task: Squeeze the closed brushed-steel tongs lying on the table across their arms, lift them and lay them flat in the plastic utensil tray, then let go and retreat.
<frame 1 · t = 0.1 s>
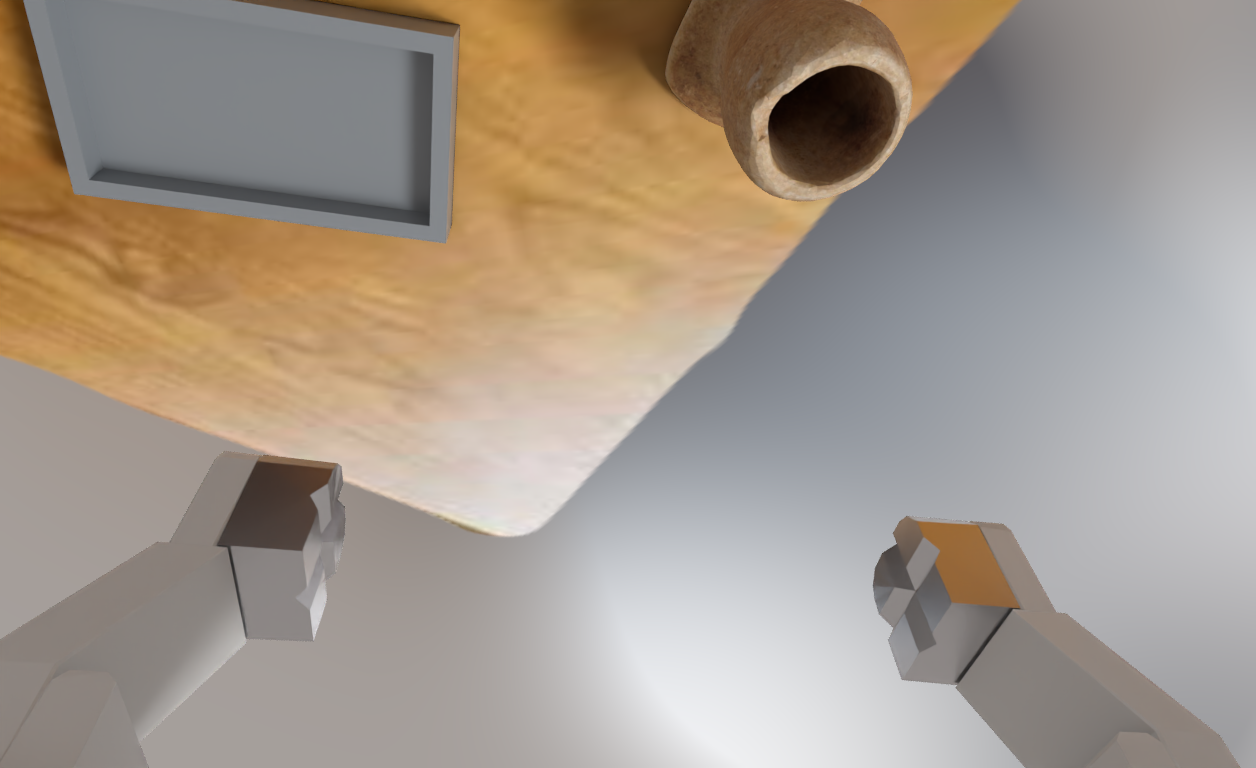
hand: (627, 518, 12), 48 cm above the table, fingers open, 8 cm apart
utensil tray: (269, 104, 55), on the table
stone cup: (776, 16, 53), on the table
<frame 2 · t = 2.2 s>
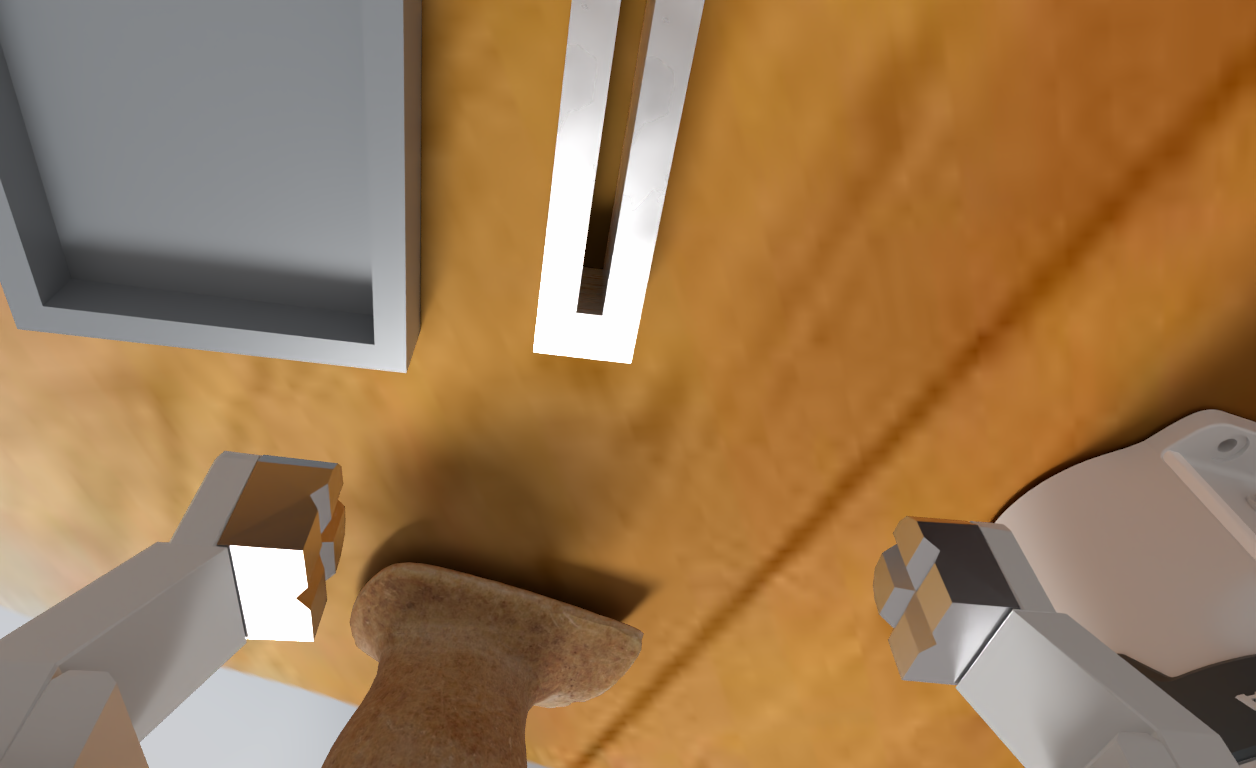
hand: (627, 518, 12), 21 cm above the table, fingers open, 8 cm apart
steel tongs: (619, 81, 28), on the table
stone cup: (485, 621, 47), on the table
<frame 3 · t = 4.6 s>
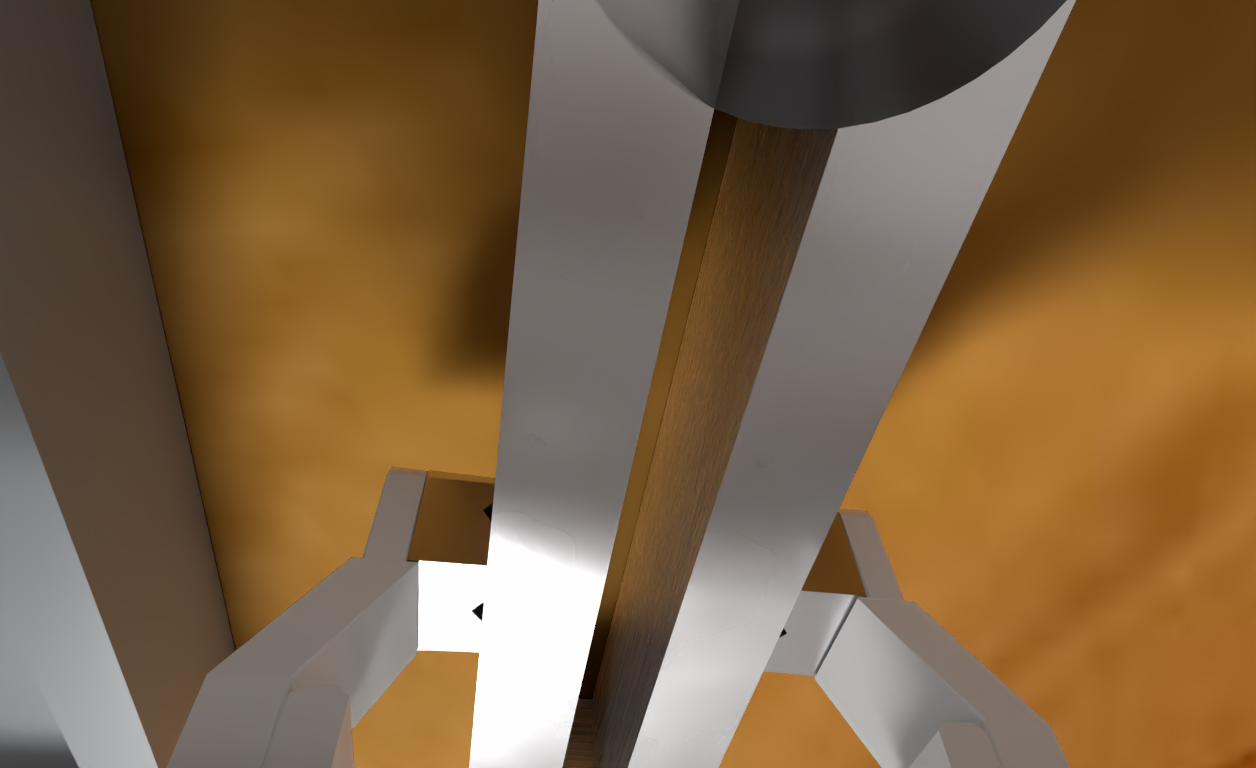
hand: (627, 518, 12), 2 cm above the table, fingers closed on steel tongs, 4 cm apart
steel tongs: (625, 442, 13), on the table, touching gripper
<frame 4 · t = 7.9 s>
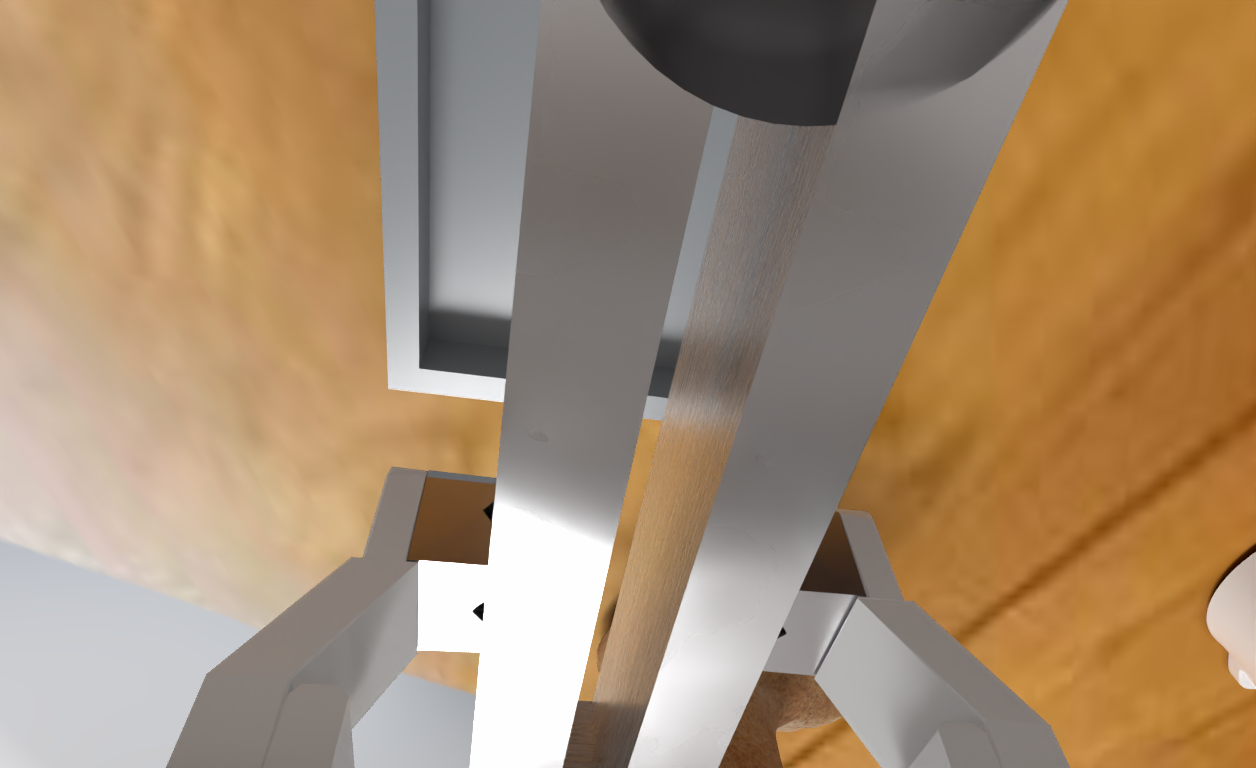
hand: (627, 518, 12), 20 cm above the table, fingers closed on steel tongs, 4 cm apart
utensil tray: (616, 69, 27), on the table
steel tongs: (625, 443, 13), point 18 cm above the table, touching gripper
stone cup: (715, 648, 49), on the table
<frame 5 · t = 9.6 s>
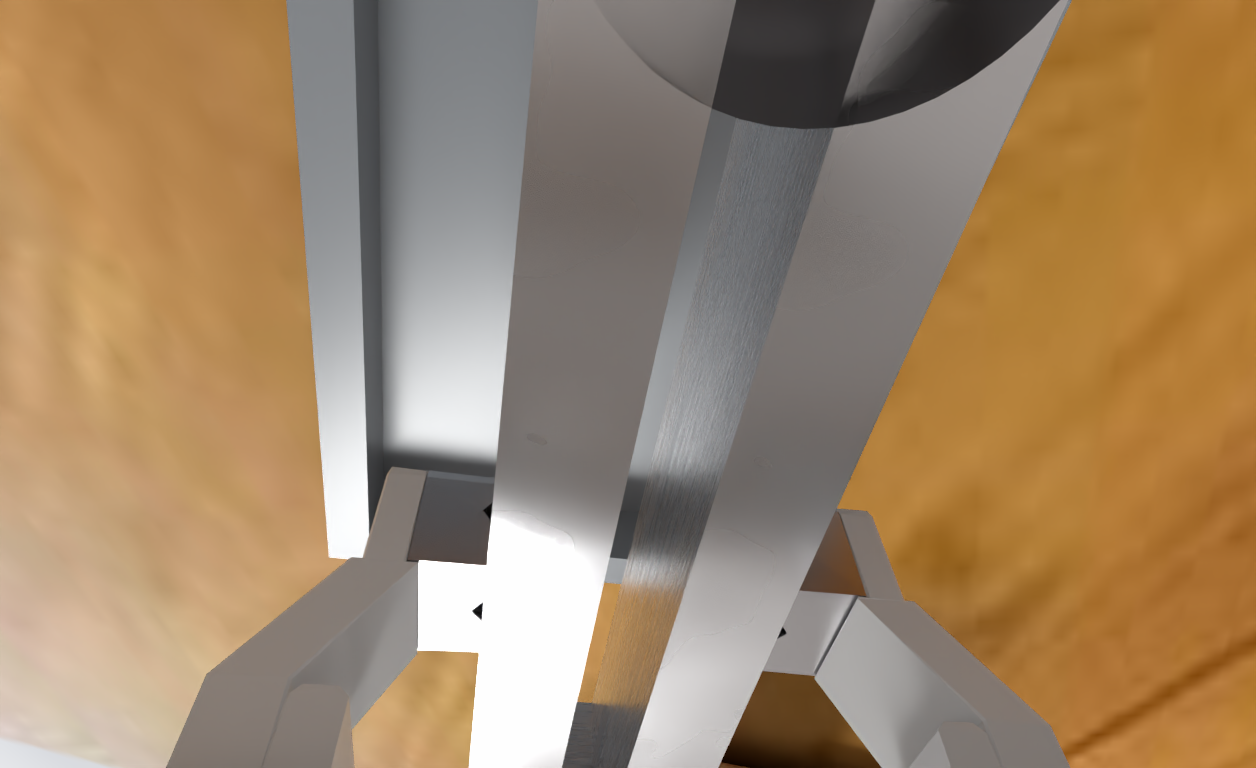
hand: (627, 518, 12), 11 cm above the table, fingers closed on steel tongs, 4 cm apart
utensil tray: (635, 159, 20), on the table
steel tongs: (624, 444, 13), point 9 cm above the table, touching gripper
when the fingers open (4 cm above the table, at t = 11.3 s): steel tongs stays where it is, resting on utensil tray.
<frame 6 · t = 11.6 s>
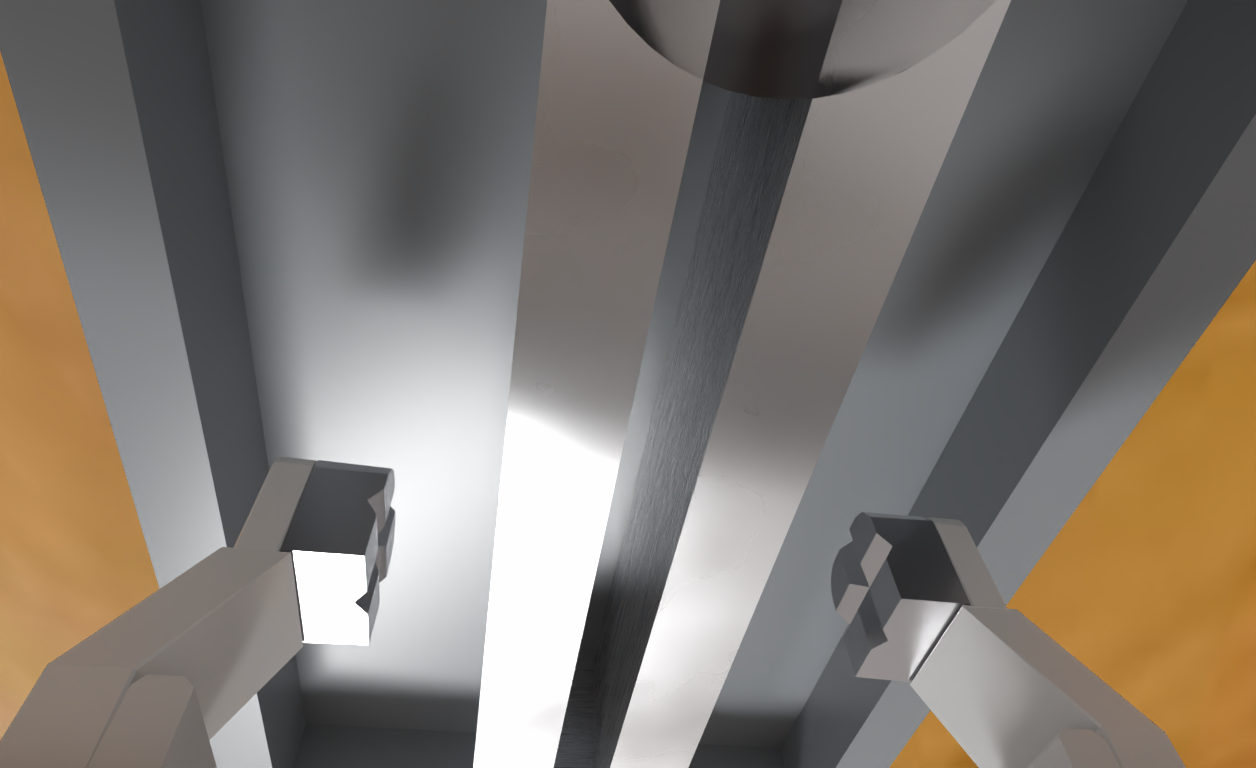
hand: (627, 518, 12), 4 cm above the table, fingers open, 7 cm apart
utensil tray: (623, 347, 14), on the table
steel tongs: (624, 408, 14), point 1 cm above the table, touching utensil tray
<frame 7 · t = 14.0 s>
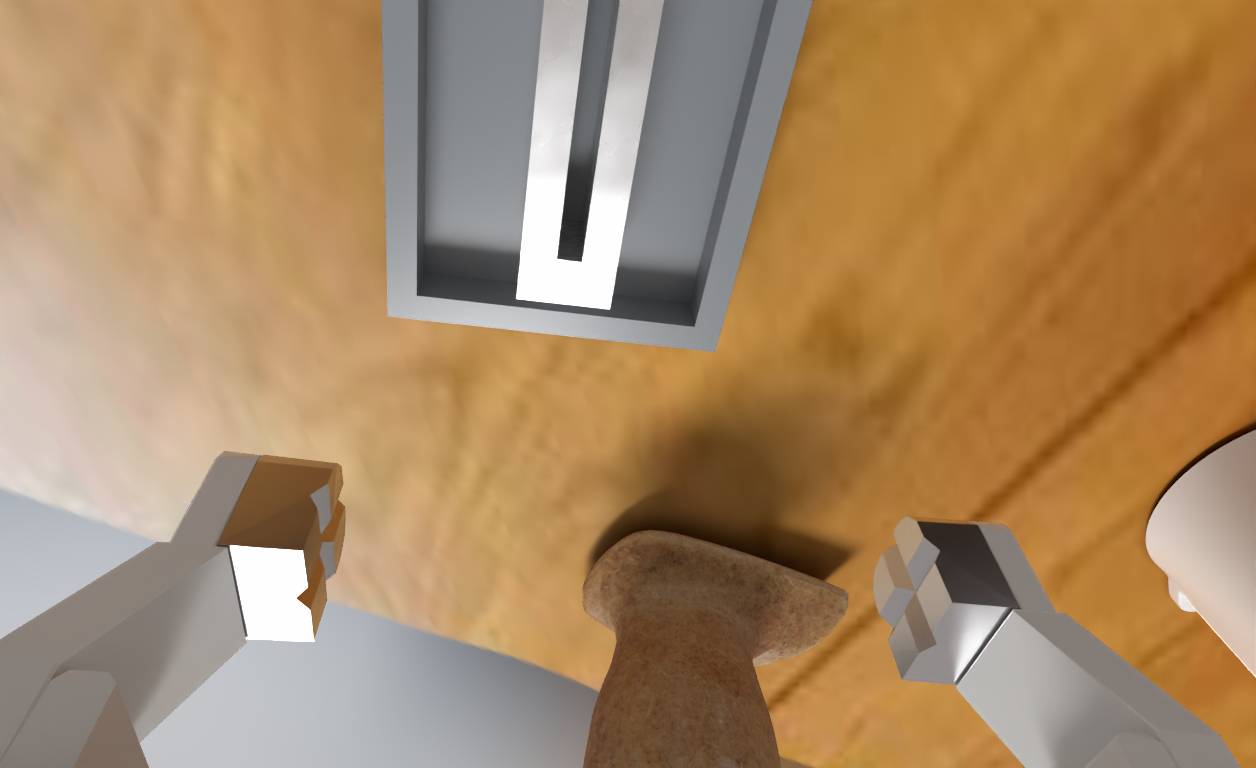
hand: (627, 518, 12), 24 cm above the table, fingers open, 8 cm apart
utensil tray: (594, 13, 30), on the table
steel tongs: (594, 36, 30), point 1 cm above the table, touching utensil tray
stone cup: (693, 587, 51), on the table
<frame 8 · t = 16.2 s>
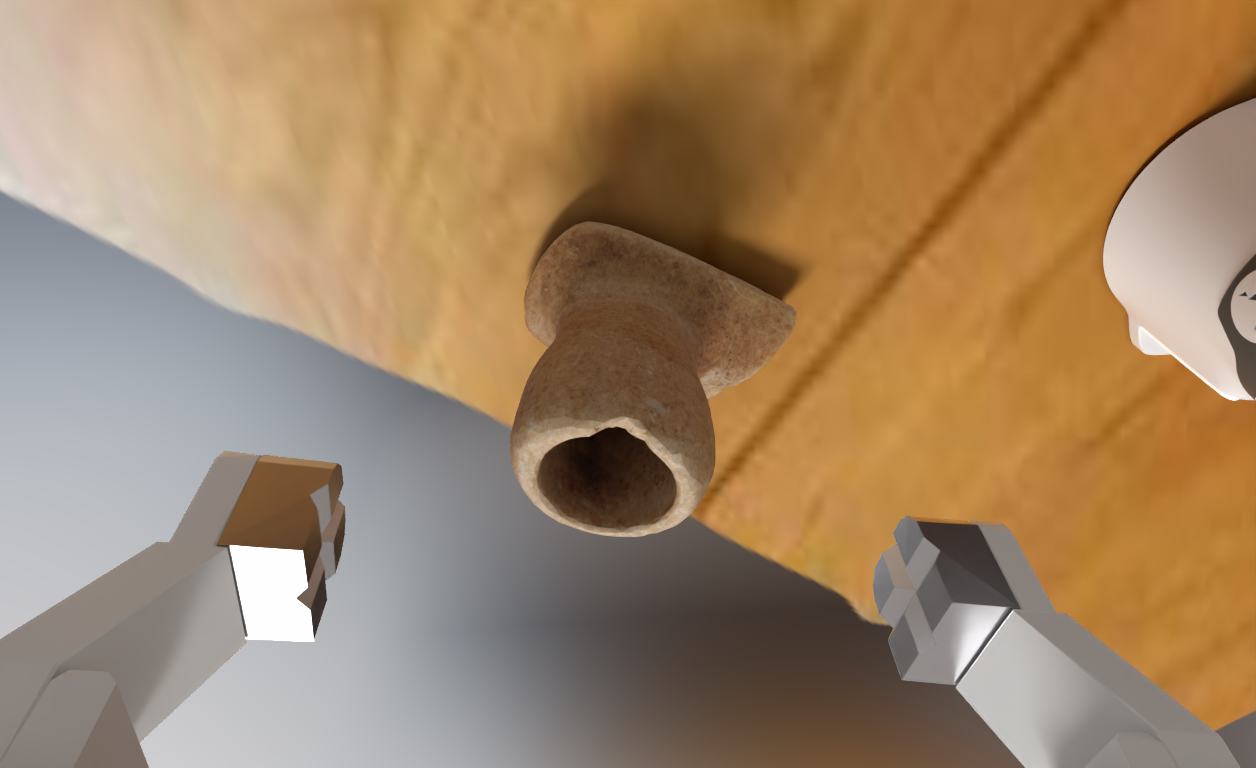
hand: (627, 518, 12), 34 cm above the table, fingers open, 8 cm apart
stone cup: (641, 315, 50), on the table
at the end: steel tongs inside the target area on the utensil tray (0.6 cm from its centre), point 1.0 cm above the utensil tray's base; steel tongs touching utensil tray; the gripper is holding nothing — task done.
